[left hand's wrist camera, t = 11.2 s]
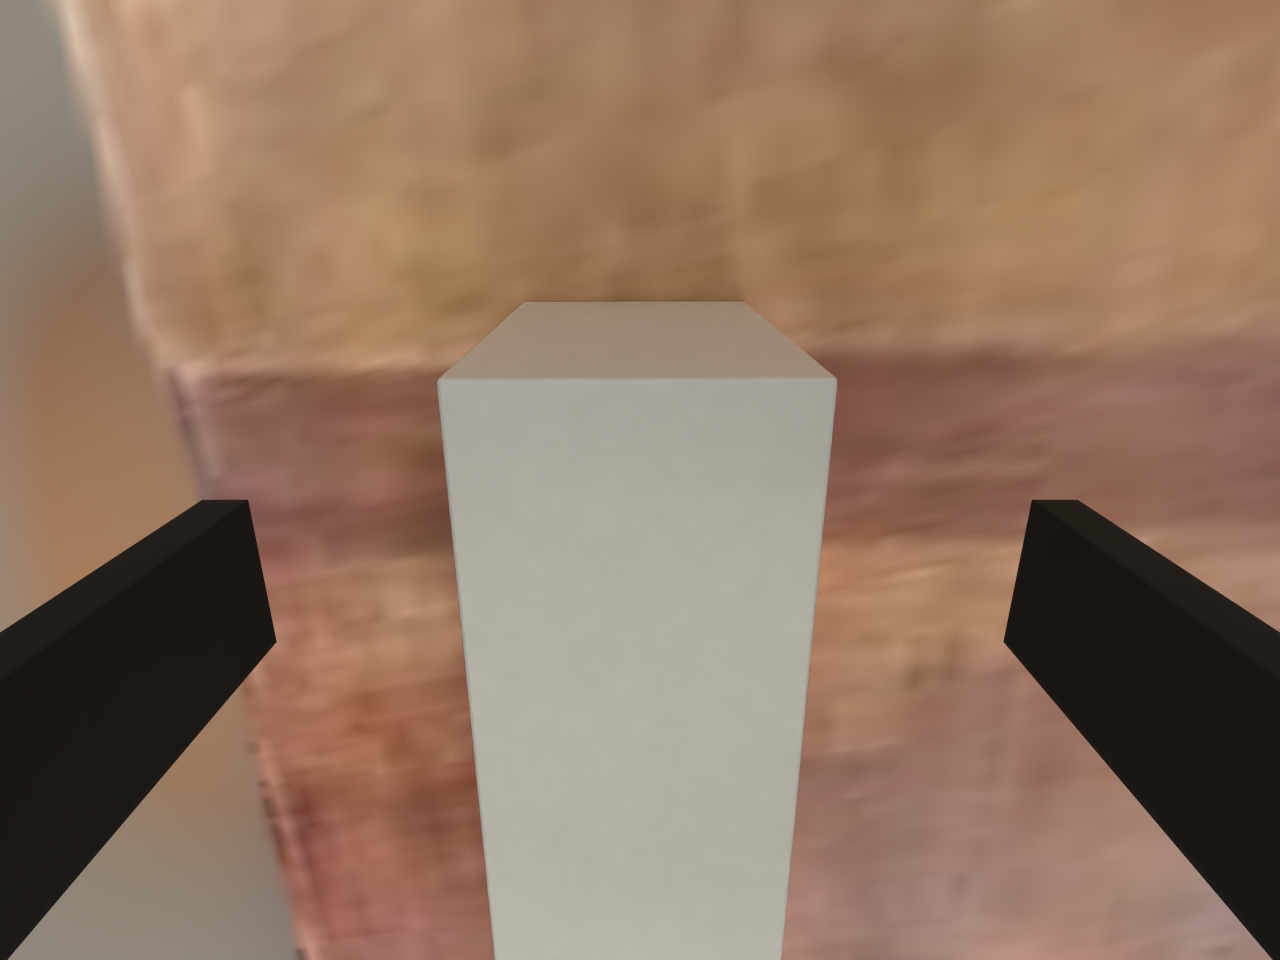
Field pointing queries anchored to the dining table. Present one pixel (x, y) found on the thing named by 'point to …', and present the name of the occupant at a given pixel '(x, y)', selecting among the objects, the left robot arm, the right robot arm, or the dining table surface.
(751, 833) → the post
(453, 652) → the dining table surface
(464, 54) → the dining table surface
